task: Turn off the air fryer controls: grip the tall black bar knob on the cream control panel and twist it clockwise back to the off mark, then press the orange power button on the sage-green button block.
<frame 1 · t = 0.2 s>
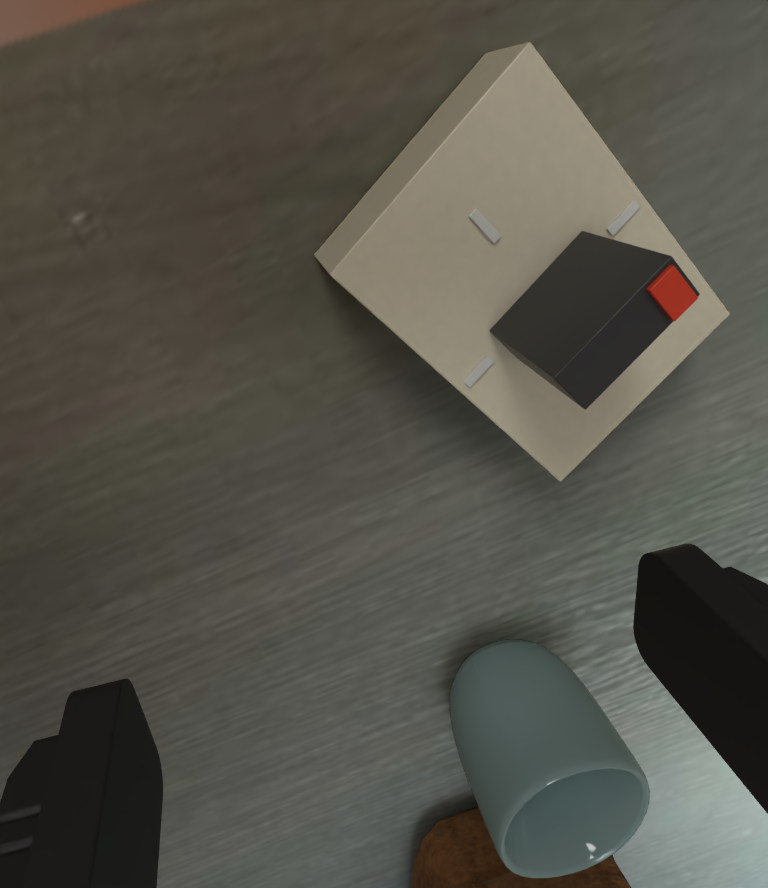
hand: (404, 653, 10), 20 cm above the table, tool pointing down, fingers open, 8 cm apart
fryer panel: (507, 275, 29), on the table
cup: (493, 667, 40), on the table
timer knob: (585, 315, 23), point 7 cm above the table, hinge at 90.0°
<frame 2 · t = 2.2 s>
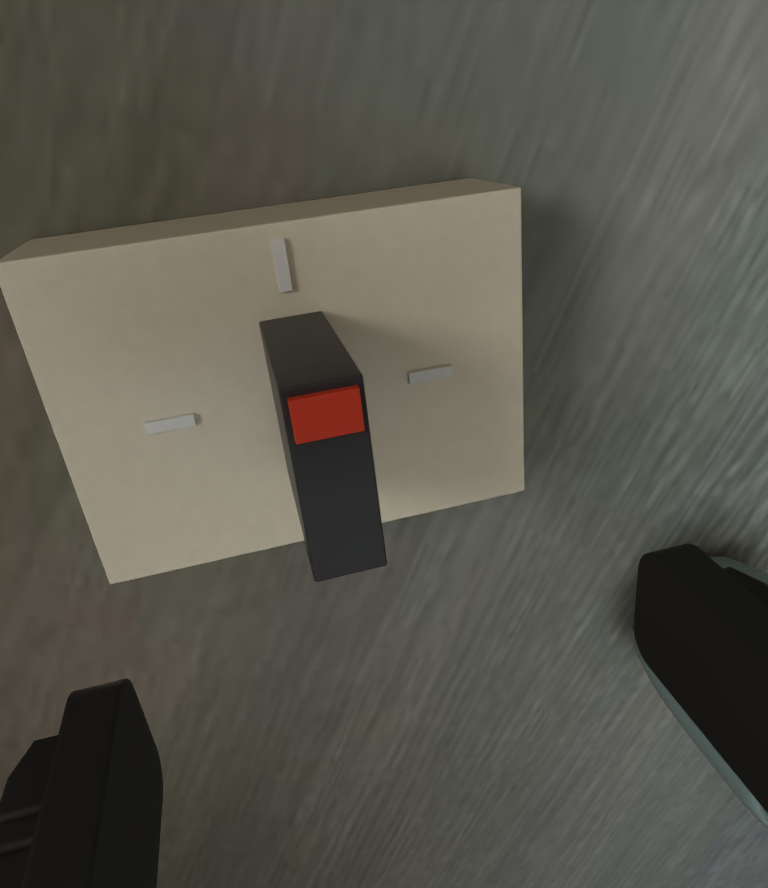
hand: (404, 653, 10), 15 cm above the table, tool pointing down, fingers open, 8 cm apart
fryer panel: (289, 356, 23), on the table
cup: (676, 595, 33), on the table
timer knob: (319, 437, 17), point 7 cm above the table, hinge at 90.0°
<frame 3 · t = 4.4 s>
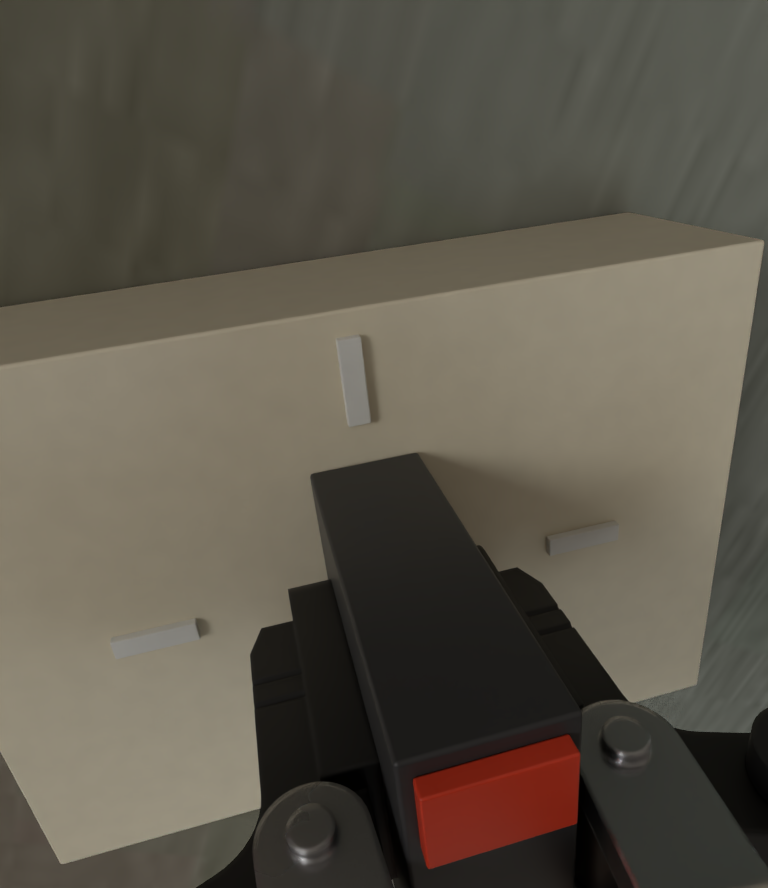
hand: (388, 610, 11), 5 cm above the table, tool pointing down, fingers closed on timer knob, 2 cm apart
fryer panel: (340, 478, 15), on the table
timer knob: (426, 708, 9), point 7 cm above the table, hinge at 90.0°, touching gripper
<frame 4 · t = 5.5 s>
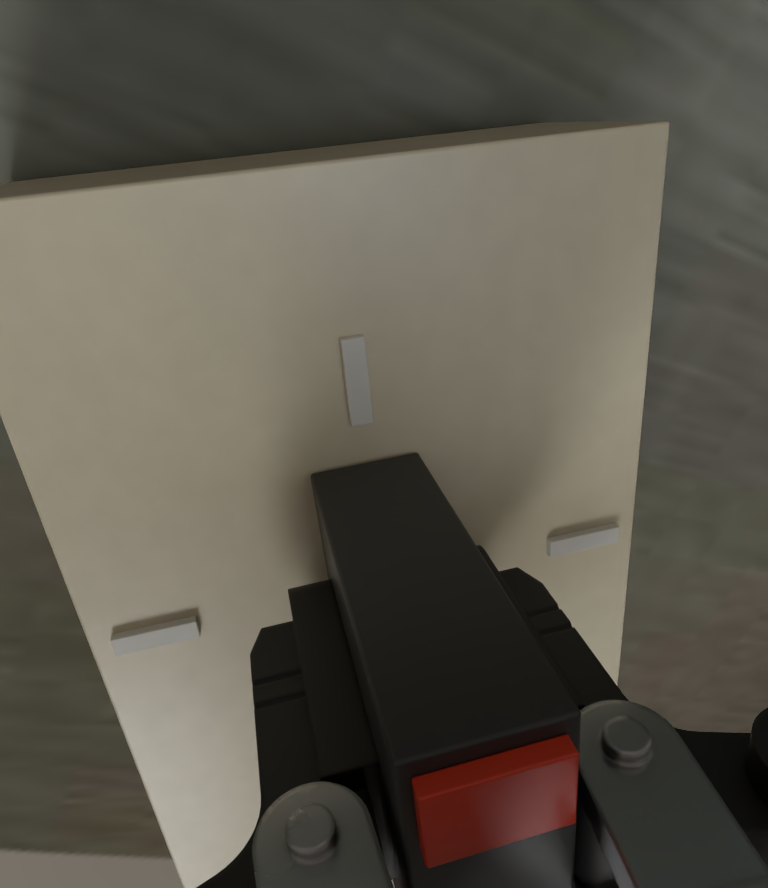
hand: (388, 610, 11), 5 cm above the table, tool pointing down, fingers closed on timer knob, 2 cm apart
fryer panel: (341, 478, 15), on the table
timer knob: (426, 708, 9), point 7 cm above the table, hinge at 0.6°, touching gripper
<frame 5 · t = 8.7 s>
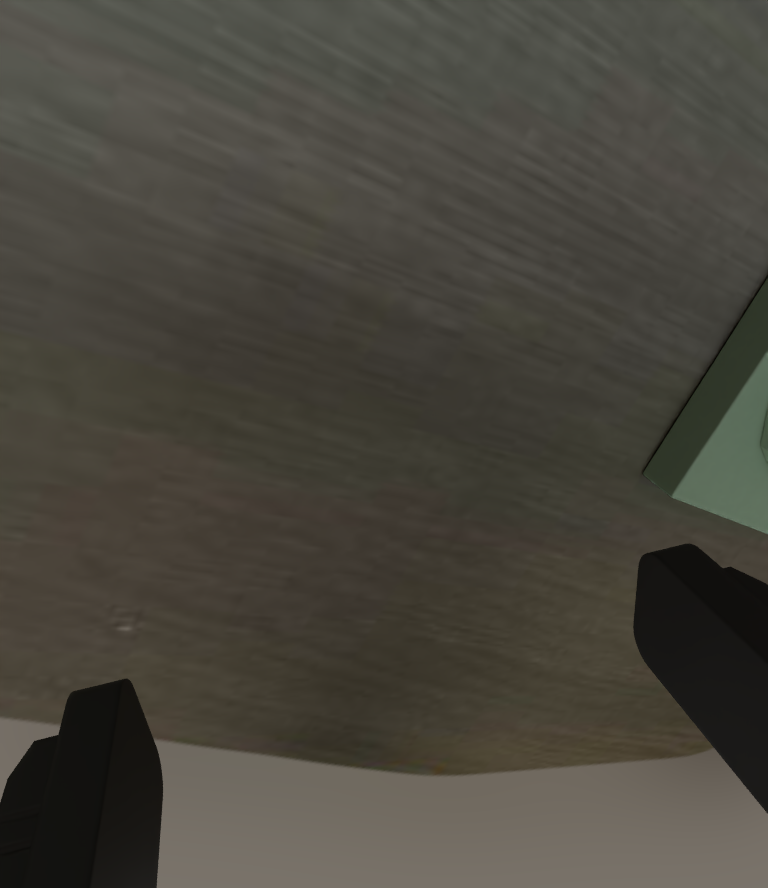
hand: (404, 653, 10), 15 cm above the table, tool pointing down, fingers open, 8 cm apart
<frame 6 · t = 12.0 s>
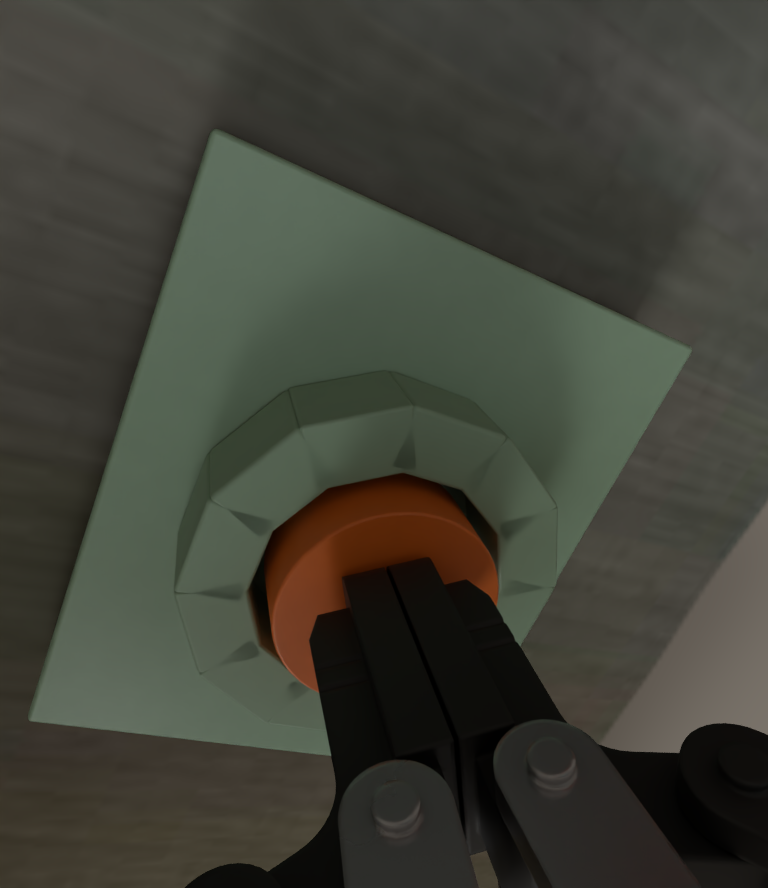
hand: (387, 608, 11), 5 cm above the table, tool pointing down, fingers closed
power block: (341, 484, 15), on the table
power button: (378, 583, 12), point 4 cm above the table, slide at -0.6 cm, touching gripper
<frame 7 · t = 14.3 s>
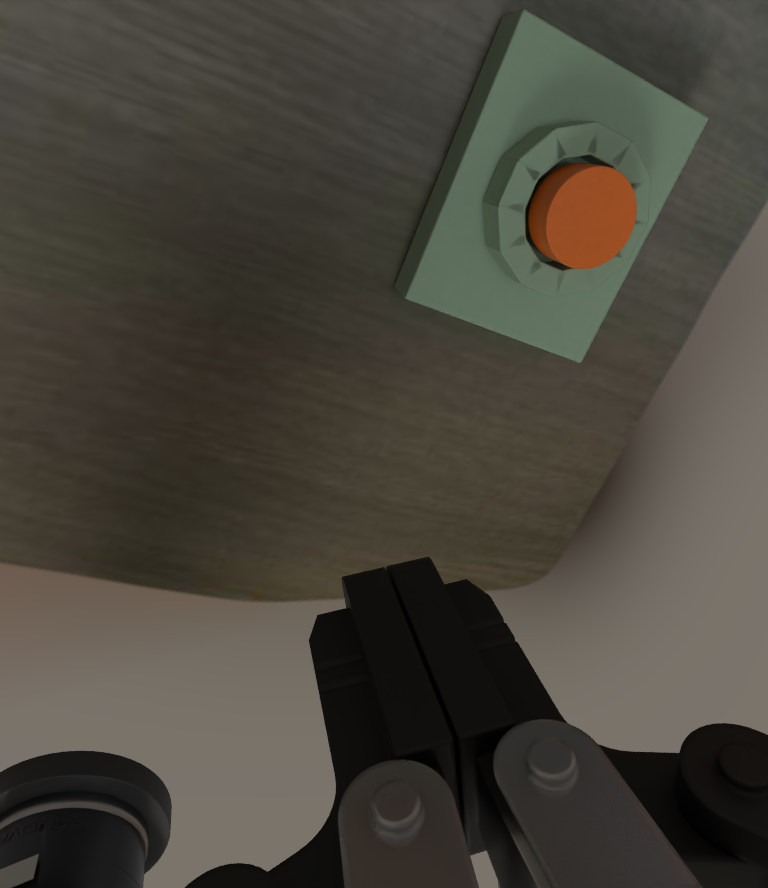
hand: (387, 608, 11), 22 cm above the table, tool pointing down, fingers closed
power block: (535, 202, 31), on the table
power button: (581, 216, 28), point 4 cm above the table, slide at 0.1 cm
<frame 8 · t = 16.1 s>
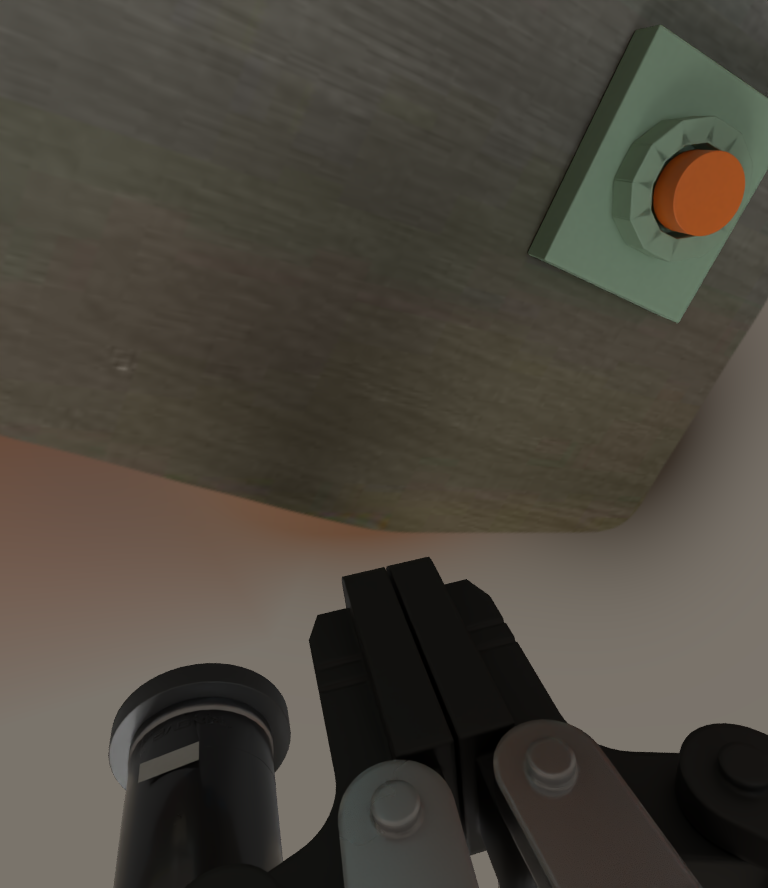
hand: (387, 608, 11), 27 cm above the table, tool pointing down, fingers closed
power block: (647, 185, 38), on the table
power button: (698, 193, 34), point 4 cm above the table, slide at 0.1 cm
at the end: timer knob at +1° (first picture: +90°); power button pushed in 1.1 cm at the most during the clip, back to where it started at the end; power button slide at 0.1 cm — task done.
